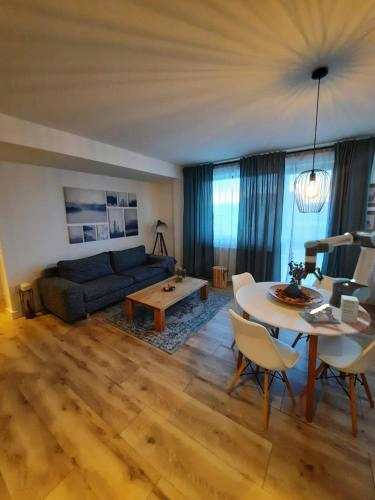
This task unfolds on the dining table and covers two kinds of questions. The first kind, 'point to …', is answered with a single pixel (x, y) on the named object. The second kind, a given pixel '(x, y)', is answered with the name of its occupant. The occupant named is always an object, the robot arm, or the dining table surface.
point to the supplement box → (349, 309)
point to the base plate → (318, 316)
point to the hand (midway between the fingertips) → (308, 288)
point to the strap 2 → (320, 309)
